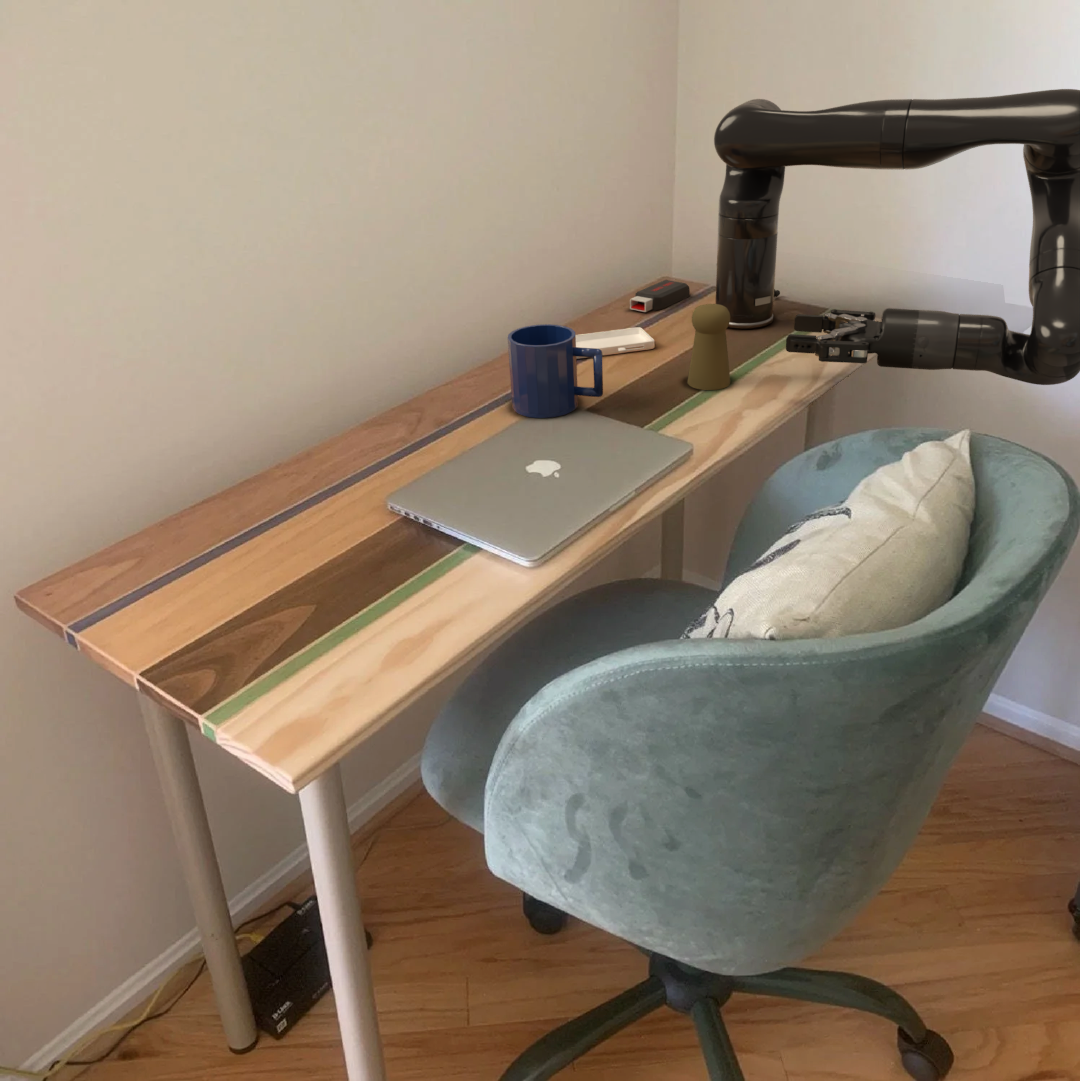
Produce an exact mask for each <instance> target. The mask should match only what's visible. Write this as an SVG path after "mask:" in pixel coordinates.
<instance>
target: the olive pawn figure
mask: <svg viewBox="0 0 1080 1081" xmlns="http://www.w3.org/2000/svg"><path fill="white" fill-rule="evenodd" d="M729 322H730V313H729V311H728V309H727V308H726V307H724V306H722V305H719V304H715V303H706V304H705V303H704V304H700V305H698V306H697V307H695V308H694V310H693V311H692V314H691V324H692V327H693V328H694V330H695V332H694V337H693V343H692V344H693V345H692V351H691V357H690V363H689V369H688V376H687V381H686V383H687V385H688V386H689V387H690V388H693V389H697V390H702V391H717V390H722V389H725V388H728V387H729V386H730V385H731V373H730V372H731V371H730V363H729V351H728V343H727V342H728V341H727V329H728V328H729V327H728V325H729Z"/></svg>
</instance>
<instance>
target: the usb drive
mask: <svg viewBox="0 0 1080 1081" xmlns="http://www.w3.org/2000/svg"><path fill="white" fill-rule="evenodd" d="M690 290H691V289H690V286H689V284H687V283H686V282H681V281H675V280H671V279H664V280H661V281H659V282H657V283H654V284H652V285H650V286H648V287H645V288H643V289H641V290H638V291H636V292H635V294H634V297H631V298H629V310H632V311H638V312H642V313H647V312H649V311H654V312H656V311H661V310H663V309H665V308H667V307H670V306H672V305H674V304H677V303H678V302H680V301H683V300H686V299H687V298H689V297H691V296H690V294H691V292H690Z"/></svg>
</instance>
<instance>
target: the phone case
mask: <svg viewBox="0 0 1080 1081" xmlns="http://www.w3.org/2000/svg"><path fill="white" fill-rule="evenodd" d="M655 342H656V341H655V339H654V338H653V337H652V336H651V335H650V334H649V333H648V332H647V331H646V330H644V328H642V327H640V326H638V327H637V326H636V327H635V326H634V327H628V328H619V329H612V330H604V331H595V332H589V333H580V334H576V347H581V348H595V349H600V350H601V351H602V357H603V356H609V355H617V354H624V353H632V352H639V351H640V352H641V351H647V350H653V349H655V347H656V346H655ZM586 358H588V357H577V356H576V359H577V360H579V359H586Z"/></svg>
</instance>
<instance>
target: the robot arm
mask: <svg viewBox="0 0 1080 1081" xmlns="http://www.w3.org/2000/svg"><path fill="white" fill-rule="evenodd" d="M713 145H714V149H715V153H716V154H717V156H718V157H719V158H720V160H721V161H722V162H723V163H724V164H725V175H724V182H723V185H722V188H721V191H720V194H719V197H718V216H717V245H716V246H717V249H716V278H715V303H714V304H719V305H722V306H724V307H726V308H727V309H728V311H729V313H730V322H729V325H728V327H727V328H731V329H739V330H741V329H743V330H745V329H758V328H763V327H766V326H769V325H770V324H772V323H773V321H774V299H775V298H778V297H779V296H780V295H781V290H779V289H775V282H776V268H777V250H778V234H779V215H780V204H781V203H780V202H781V198H782V194H783V191H784V184H785V176H786V175H785V174H786V167H794V166H795V167H796V166H819V167H830V168H831V167H832V168H846V169H864V170H865V169H866V170H893V171H895V170H897V171H898V170H901V171H902V170H905V171H907V170H918V169H923V168H927V167H930V166H933V165H936V164H938V163H940V162H943V161H945V160H948V159H950V158H952V157H954V156H957V155H959V154H961V153H964V152H966V151H968V150H971V149H976V148H979V147H983V146H990V145H991V146H993V145H1023V148H1022V158H1023V161H1024V166H1025V167H1024V168H1025V172H1026V176H1027V182H1028V187H1029V191H1030V192H1029V193H1030V197H1031V206H1032V227H1031V228H1032V229H1031V238H1030V247H1029V260H1028V261H1029V262H1028V263H1029V264H1028V299H1029V303H1030V304H1031V306H1032V321H1031V328H1030V334H1029V333H1022V332H1019V331H1014V330H1010V329H1009V328H1008V324H1007V322H1006V320H1005V319H1004V318H1003V317H1001V316H997V315H989V314H972V313H956V312H949V311H943V310H934V309H933V310H931V309H913V308H910V309H909V308H891V307H888V308H884V309H883V311H882V315H881V320H880V321H878V320H876V312H874V311H864V310H863V311H861V310H849V309H837V308H835V309H830V311H829V312H826V313H824V315H822V314H804V313H803V314H801V313H798V314H797V315H795V317H794V323H793V324H794V326H793V329H794V331H795V332H802V333H818V334H819V333H824V334H821V335H813V334H812V335H811V334H795V333H794V334H793V333H790V334H788V335H787V336H786V340H785V351H786V352H787V353H795V354H796V353H797V354H798V353H799V354H813V355H814V356H816V357H818V361H819V362H821V363H824V362H825V363H844V364H845V363H848V364H849V363H850V364H867V362H868V356H869V354H876V355H877V357H876V364H877V366H879V367H881V368H882V367H883V368H894V369H910V370H911V369H913V370H925V371H927V370H928V371H936V370H957V371H960V370H961V371H975V372H980V371H981V372H983V371H984V372H989V373H992V374H995V375H998V376H1001V377H1005V378H1008V379H1011V380H1014V381H1015V380H1016V381H1020V382H1024V383H1027V384H1031V385H1032V384H1033V385H1036V386H1037V385H1039V386H1053V385H1054V386H1055V385H1060V384H1063V383H1067V382H1069V381H1071V380H1073V379H1074V378H1075V377H1076V376H1078V374H1080V89H1075V88H1057V89H1047V90H1039V91H1029V92H1028V91H1027V92H1021V93H1012V94H1003V95H996V96H995V95H994V96H982V97H961V98H960V97H958V98H942V99H941V98H938V99H937V98H936V99H934V98H933V99H931V98H930V99H928V98H927V99H926V98H924V99H923V98H900V99H899V98H898V99H896V98H895V99H878V100H868V101H861V102H856V103H855V102H854V103H850V104H844V105H840V106H834V107H829V108H825V109H819V110H803V111H802V110H784V109H783V110H782V109H781V108H780V106H778V105H777V104H776V103H775V102H773V101H771V100H768V99H764V98H754V99H750V100H747V101H745V102H743V103H741V104H739V105H737V106H734V108H732V109H730V110H729V111H728V112H727V113H726V114H725V115H724V116H723V117H722V118H721V120H720V121H719V123H718V124H717V127H716V128H715V131H714V136H713Z"/></svg>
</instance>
